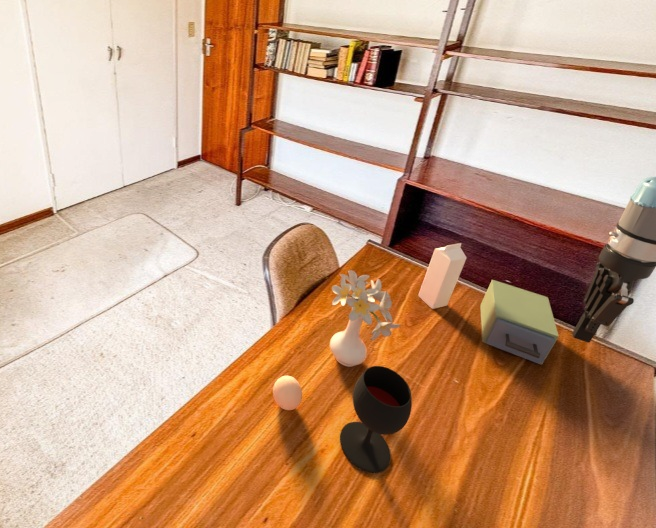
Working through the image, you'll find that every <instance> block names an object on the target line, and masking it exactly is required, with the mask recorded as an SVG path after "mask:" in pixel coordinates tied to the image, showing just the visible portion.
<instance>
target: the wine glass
mask: <svg viewBox="0 0 656 528" xmlns="http://www.w3.org/2000/svg"><path fill="white" fill-rule="evenodd" d="M412 403H413V400H412V391H411V388H410V386H409V384H408V382H407V380H405V379H404V378H403V376H401V375H400V374H399V373H397V371H395V370H394V369H391V368H389V367H386V366H383V365H382V366H381V365H373V366H369V367H368V368H367V369H365V370H364V371H362V373H361V374H360V376H359V377H358V379H356V382H355V385H354V387H353V391H352V404H353V408H354V411H355V414H356V416H357V418H358V419H359V421H352V422H349V423H347V424H345V425H344V426H343V427H342V429H341V431H340V434H339V445H340V447H341V450H342V452H343V454H344V455H345V458H347V460H348V461H349V462H350V463H351V464H352V465H353V466H354V467H356V468H357V469H359V470H361V471H362V472H365V473H369V474H381V473H382V472H385V470H387V469H388V467H389V465H390V463H391V459H392V458H391V450H390V446H389V444H388V442H387V440H386V439H385V438H384V436H390V435H395V434H396V433H398V432H400V431H401V430H403V428H405V426H406V425H407V424H408V421H409V419H410V416H411V412H412ZM383 435H384V436H383Z"/></svg>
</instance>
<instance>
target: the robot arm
mask: <svg viewBox="0 0 656 528" xmlns="http://www.w3.org/2000/svg"><path fill="white" fill-rule="evenodd" d="M608 236H609V238H608V239H607V243H606V244H604V246H603V247H602V249H601V252H600V253H599V255H598V261H597V262H596V266H595V272H594V273H593V276H592V280H591V281H590V284H589V286H588V289H587V291H586V294H585V296H584V298H583V304H585V306H584V311H583V313H582V315H581V317H580V318H579V321H578V322H577V324H576V326H575V327H574V329H573V331H572V332H571V333H572V337H573V338H574V339H577V340H579V341H582V342H585V343H588V344H590V343H591V341H592V339H593V338H594V336H595V334H597V331H598V330H599V328H600V326H605V327H609V326H610V325H611V324H612V323H613V322H614V321H615V320H616V319H617V318H618V317H619V316H620V315H621V314H622V312H623V311H624V310H625V309H626V308H627V307H629V306H631V305H633V304H634V302H635V299H634V298H633V297H630V296H629V291H631V290H632V288H633V287H634V283H635V281H637V280H644V279H645V280H646V279H648V278H650V277H651V275H652V273H653V272H654V270H655V269H656V176H650V177H646V178H644V179H643V180H642V181H641V182H640V183H639V185H637V187H636V188H635V190H634V191H633V193H632V194H631V195H630V197H629V201H628V203H627V205H626V206H625V209H624V210H623V213H622V214H621V217H619V221H618V222H617V223H616V225H615V227H614V228H613V230H612V231H609V232H608Z"/></svg>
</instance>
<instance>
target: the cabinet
mask: <svg viewBox="0 0 656 528" xmlns="http://www.w3.org/2000/svg"><path fill="white" fill-rule="evenodd" d="M479 308H480V325H481V340H482V341H481V342H482V343H484V344H486V340H487V337H488V335H489V333H490V331H491V329H492V327H493V325H494V323H495V321H496V319H497V318H501V319H503V320H506V321H509V322H512V323H515V324H518V325H520V326H523V327H526V328H529V329H532V330H534V331H537V332H540V333H543V334H546V335H549V336H550V337H553V338H555V343H554V344H553V346H552V348H551V349H550V351H549V353H548V354H547V356H546V358H545V359H544V361H543V363H542V364H540V365H543V364H544V362H545V361H546V359H547V358H548V356H549V354H550V353H551V351H552V349H553V347H554V346H555V344H556V342H557V340H558V339H559V337H560V336H559V332H558V328H557V325H556V321H555V318H554V314H553V310H552V307H551V303H550V300H549V297H548V296H545V295H543V294H542V295H541V294H539V293H535V292H532V291H530V290H526V289H523V288H520V287H516V286H515V285H510V284H507V283H505V282H502V281H498V280H495V279H491V282H490V283H489V285H488V287H487V289H486V291H485V294H484V296H483V298H482V300H481V303H480V305H479Z"/></svg>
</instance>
